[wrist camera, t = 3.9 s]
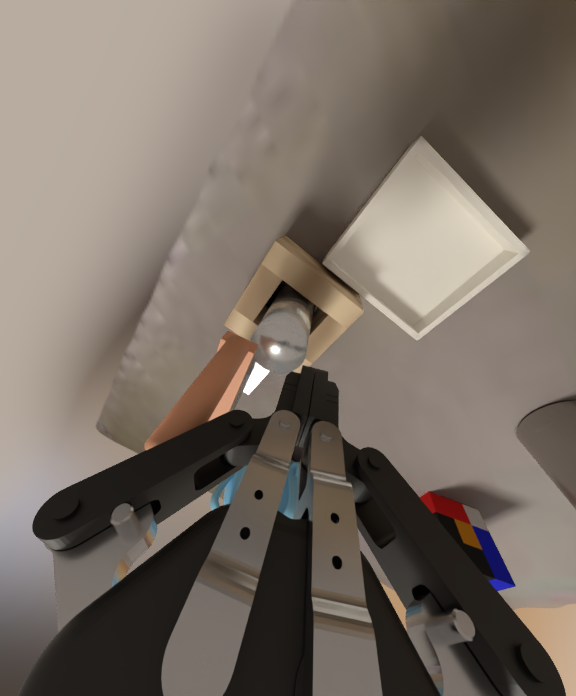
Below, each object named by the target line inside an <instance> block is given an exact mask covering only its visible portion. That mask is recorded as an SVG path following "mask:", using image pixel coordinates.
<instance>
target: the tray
mask: <svg viewBox="0 0 576 696" xmlns="http://www.w3.org/2000/svg"><path fill="white" fill-rule="evenodd" d="M530 252H531V251H530V250H529V249H528V248H527V247H526V246H525V245H524V244H523V243H522V242H521V241H520V240H519V239H518V238H517V237H516V236H515V235H514V233H513V232H512V231H511V230H510V229H509V228H508V227H507V226H506V225H505V224H504V223H503V222H502V221H501V220H500V219H499V218H498V216H497V215H496V214H495V213H494V212H493V211H492V210H491V209H490V208H489V207H488V206H487V205H486V204H485V203H484V202H483V201H482V200H481V198H480V197H479V196H478V195H477V194H476V193H475V192H474V191H473V190H472V189H471V188H470V187H469V186H468V185H467V184H466V183H465V181H464V180H463V179H462V178H461V177H460V176H459V175H458V174H457V173H456V172H455V171H454V170H453V169H452V168H451V167H450V166H449V165H448V163H447V162H446V161H445V160H444V159H443V158H442V157H441V156H440V155H439V154H438V153H437V152H436V151H435V150H434V149H433V148H432V147H431V145H430V144H429V143H428V142H427V141H426V140H425V139H424V138H423V137H422V136H420V137H419V138H418V139H416V140H415V141H414V142H413V143H412V144H411V145H410V146H409V147H408V149H407V150H406V151H405V153H404V154H403V155H402V156H401V158H400V159H399V160H398V162H397V163H396V164H395V166H394V167H393V168H392V170H391V171H390V172H389V173H388V175H387V176H386V177H385V179H384V180H383V181H382V183H381V184H380V185H379V187H378V188H377V189H376V190H375V192H374V193H373V194H372V196H371V197H370V198H369V200H368V201H367V202H366V203H365V205H364V206H363V207H362V209H361V210H360V211H359V213H358V214H357V215H356V217H355V218H354V219H353V220H352V222H351V223H350V224H349V226H348V227H347V228H346V230H345V231H344V232H343V233H342V235H341V236H340V237H339V239H338V240H337V241H336V243H335V244H334V245H333V247H332V248H331V249H330V250H329V252H328V253H327V254H326V256H325V257H324V258H323V262H322V264H323V265H325V266H326V267H327V268H328V269H329V270H331V271H332V272H333V273H334V274H336V275H337V276H338V277H339V278H341V279H342V280H343V281H344V282H345V283H347V284H348V285H349V286H350V287H352V288H353V289H354V290H355V291H357V292H358V293H359V294H360V295H361V296H363V297H364V298H365V299H366V300H368V301H369V302H370V303H371V304H373V305H374V306H375V307H376V308H377V309H379V310H380V311H381V312H382V313H384V314H385V315H386V316H387V317H388V318H390V319H391V320H392V321H393V322H395V323H396V324H397V325H398V326H400V327H401V328H402V329H403V330H404V331H406V332H407V333H408V334H409V335H411V336H412V337H413V338H414V339H416V340H419V339H420V338H421V337H423V336H424V335H425V334H426V333H428V332H429V331H430V330H431V329H433V328H434V327H435V326H437V325H438V324H439V323H440V322H442V321H443V320H444V319H446V318H447V317H448V316H449V315H451V314H452V313H453V312H454V311H456V310H457V309H458V308H460V307H461V306H462V305H463V304H465V303H466V302H467V301H468V300H470V299H471V298H472V297H474V296H475V295H476V294H477V293H479V292H480V291H481V290H483V289H484V288H485V287H486V286H488V285H489V284H490V283H491V282H493V281H494V280H495V279H497V278H498V277H499V276H500V275H502V274H503V273H504V272H506V271H507V270H508V269H509V268H511V267H512V266H513V265H514V264H516V263H517V262H518V261H520V260H521V259H522V258H523V257H525V256H526V255H527V254H529V253H530Z"/></svg>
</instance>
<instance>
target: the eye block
mask: <svg viewBox="0 0 576 696" xmlns="http://www.w3.org/2000/svg"><path fill="white" fill-rule="evenodd" d="M282 280H283V281H285V282H286V283H287V284H289V285H290V286H291V287H293V288H294V289H295V290H296V291H298V292H299V293H300V294H302V295H303V296H304V297H306V298H307V299H308V300H310V301H311V302H312V303H313V304H315V305H316V306H317V307H319V308H320V309H319V310H318V311H317V312H316V313H315V314H314V316H313V317H312V322H311V328H310V334H309V340H308V346H307V352H306V357H305V360H304V362H303V363H302V364H301V366H300V367H298V368H297V369H296V370H294V371H293V372H297V373H301V369H302V366H303V365H305V366H308V367H309V366H310V365H311V364H312V363H313V362H314V361H315V360H316V359H317V358H318V357H319V356H320V355H321V354H322V353H323V352H324V351H325V350H326V349H327V348H328V347H329V346H330V345H331V344H332V343H333V342H334V341H335V340H336V339H337V338H338V337H339V336H340V335H341V334H342V333H343V332H344V331H345V330H346V329H347V328H348V327H349V326H350V325H351V324H352V323H353V322H354V321H355V320H356V319H357V318H358V317H359V316H360V315H361V314H363V313H364V309H363V306H362V303H361V300H360V297H359V294H357V293H356V292H355V291H354V290H352V289H351V288H350V287H349V286H347V285H346V284H345V283H344V282H343V281H341V280H340V279H339V278H338V277H336V276H335V275H334V274H333V273H331V272H330V271H329V270H328V269H327V268H325V267H324V266H323V265H322V264H320V263H319V262H318V261H317V260H315V259H314V258H313V257H312V256H310V255H309V254H308V253H307V252H306V251H304V250H303V249H302V248H301V247H299V246H298V245H297V244H296V243H294V242H293V241H292V240H291V239H290V238H288V237H287V236H286V235H285V236H283V237H281V238H279V239H278V240H276V241H275V242H274V244H273V246H272V247H271V249H270V250H269V252H268V254H267V255H266V257H265V259H264V260H263V262H262V263H261V265H260V267H259V268H258V270H257V272H256V273H255V275H254V276H253V278H252V280H251V281H250V283H249V285H248V286H247V288H246V289H245V291H244V293H243V294H242V296H241V298H240V299H239V301H238V302H237V304H236V306H235V307H234V309H233V311H232V312H231V314H230V315H229V317H228V319H227V320H226V322H225V324H224V325H225V326H226V327H228V328H229V329H231V330H232V331H234V332H235V333H237V334H238V335H239V336H241V337H243V338H245V339H247V340H249V341H250V340H251V337H252V335H253V333H254V332H255V330H256V329H257V327H258V325H259V324H260V322H261V321H262V319H263V317H264V316H265V314H266V313H267V311H268V309H269V308H268V307H267V306H265V304H266V302H267V301H268V300H269V298H270V297H271V295H272V294H273V292H274V291H275V290H276V288H277V287H278V285H279V284H280V282H281V281H282Z"/></svg>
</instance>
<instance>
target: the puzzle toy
mask: <svg viewBox="0 0 576 696" xmlns="http://www.w3.org/2000/svg"><path fill="white" fill-rule="evenodd" d="M420 499H421V500H422V501H423V503H424V504H425V505H426V506H427V507H428V509H429V510H430V511H431V512H432V513H433V515H434V516H435V517H436V518H437V519H438V521H439V522H440V523H441V524H442V525H443V527H444V528H445V529H446V530H447V532H448V533H449V534H450V535H451V536H452V538H453V539H454V540H455V541H456V542H457V544H458V545H459V546H460V547H461V548H462V550H463V551H464V552H465V553H466V554H467V556H468V557H469V558H470V559H471V560H472V562H473V563H474V564H475V565H476V567H477V568H478V569H479V570H480V571H481V573H482V574H483V575H484V576H485V577H486V579H487V580H488V581H489V582H490V583H491V585H492V586H493V587H494V588H495V589H496V591H499V590H503V589H507V588H511V587H515V584H514V582H513V580H512V578H511V575H510V573H509V571H508V569H507V567H506V565H505V563H504V561H503V559H502V557H501V555H500V553H499V551H498V549H497V547H496V545H495V543H494V541H493V539H492V537H491V535H490V533H489V531H488V529H487V527H486V525H485V523H484V521H483V519H482V516H481V514H480V512H479V510H477V509H474V508H471V507H469V506H466V505H463V504H461V503H458V502H455V501H453V500H450V499H447V498H445V497H442V496H439V495H437V494H434V493H431V492H427V493H426V494H424V495H423V496H422V497H420Z"/></svg>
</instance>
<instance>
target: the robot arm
mask: <svg viewBox="0 0 576 696" xmlns="http://www.w3.org/2000/svg"><path fill="white" fill-rule="evenodd" d="M338 397H339V390H338V388H337V386H336V384H335V383H334V382H330V381H328V372H327V371H324V370H320V369H315V368H312V367H308V366H305V365H303V366H302V369H301V373H297V372H293V371H291V372H290V373H289V374H288V375H287V376H286V379H285V382H284V385H283V388H282V391H281V395H280V398H279V401H278V404H277V407H276V410H275V412H274V413H273V414H272V415H271V416H269V417H266V418H261V419H252V417H251V416H250V415H249V414H248V413H247V412H245V411H242V410H232V411H229V412H227V413H225V414H223V415H221V416H219V417H216V418H214V419H212V420H210V421H208V422H206V423H204V424H201V425H199V426H197V427H195V428H193V429H191V430H189V431H187V432H184V433H182V434H180V435H178V436H176V437H174V438H172V439H169V440H167V441H165V442H163V443H161V444H159V445H157V446H155V447H152V448H150V449H148V450H146V451H144V452H142V453H140V454H138V455H135V456H133V457H131V458H129V459H127V460H125V461H123V462H120V463H119V464H116V465H114V466H112V467H110V468H108V469H106V470H103V471H102V472H99V473H97V474H95V475H93V476H91V477H88V478H87V479H84V480H82V481H80V482H78V483H76V484H74V485H71V486H69V487H67V488H65V489H63V490H61V491H59V492H58V493H56V494H55V495H53V496H52V497H51V498H50V499H49V500H48V501H46V502H45V503H44V504H43V506H42V507H41V508H40V509H39V511H38V512H37V514H36V516H35V518H34V521H33V532H34V534H35V535H36V537H38V538H39V539H40V540H41V541H42V542H43V543H44V544H45V546H46V548H47V549H49V550H50V551H51V552H52V553H53V558H54V574H55V590H56V606H57V622H58V634H57V635H56V636H55V637H54V638H53V640H52V641H51V642H50V643H49V645H48V646H47V647H46V649H45V650H44V651H43V653H42V654H41V655H40V657H39V658H38V660H37V661H36V663H35V664H34V666H33V667H32V669H31V671H30V672H29V674H28V676H27V678H26V680H25V681H24V683H23V685H22V687H21V689H20V691H19V693H18V695H17V696H566V693H565V689H564V685H563V683H562V680H561V677H560V675H559V673H558V670H557V669H556V667H555V665H554V663H553V661H552V660H551V658H550V656H549V655H548V653H547V652H546V650H545V649H544V648H543V646H542V645H541V644H540V643H539V641H538V640H537V639H536V638H535V637H534V635H533V634H532V633H531V632H530V631H529V629H528V628H527V627H526V626H525V625H524V623H523V622H522V621H521V620H520V618H518V616H517V615H516V614H515V612H514V611H513V610H512V609H511V608H510V606H509V605H508V604H507V603H506V602H505V600H504V599H503V598H502V597H501V595H500V594H499V593H498V592H497V591H496V589H495V588H494V587H493V586H492V585H491V583H490V582H489V581H488V580H487V579H486V577H485V576H484V575H483V574H482V573H481V571H480V570H479V569H478V568H477V567H476V565H475V564H474V563H473V562H472V560H471V559H470V558H469V557H468V556H467V554H466V553H465V552H464V551H463V550H462V548H461V547H460V546H459V545H458V544H457V542H456V541H455V540H454V539H453V538H452V536H451V535H450V534H449V533H448V532H447V530H446V529H445V528H444V527H443V525H442V524H441V523H440V522H439V521H438V519H437V518H436V517H435V516H434V515H433V513H432V512H431V511H430V510H429V509H428V507H427V506H426V505H425V504H424V503H423V501H422V500H421V499H420V498H419V497H418V495H417V494H416V493H415V492H414V490H413V489H412V488H411V487H410V486H409V484H408V483H407V482H406V481H405V480H404V478H403V477H402V476H401V475H400V474H399V472H398V471H397V470H396V469H395V468H394V466H393V465H392V464H391V463H390V461H389V460H388V459H387V458H386V457H385V456H384V455H383V454H382V453H381V452H380V451H378V450H376V449H374V448H370V447H366V448H363V449H361V450H359V449H358V448H356V447H354V446H353V445H351V444H350V443H348V442H347V441H346V440H345V439H344V438H343V437H342V435H341V432H340V430H339V428H338V403H339V399H338ZM517 437H518V439H519V440H520V442H521V443H522V444H523V445H524V447H525V448H526V449H527V450H528V451H529V453H530V454H531V455H532V456H533V458H534V459H535V460H536V461H537V462H538V464H539V465H540V466H541V468H542V469H543V470H544V471H545V472H546V474H547V475H548V476H549V477H550V479H551V480H552V481H553V482H554V483H555V485H556V486H557V487H558V488H559V489H560V491H561V492H562V493H563V494H564V496H565V497H566V498H567V499H568V500H569V502H570V503H571V504H572V505H573V507H574V508H575V509H576V401H566V402H560V403H556V404H552V405H548V406H546V407H543V408H541V409H538V410H537V411H535V412H533V413H531V414H530V415H528V416H527V417H526V418H525V419H524V420H523V421H522V422H521V423H520V425H519V426H518V428H517ZM298 442H299V445H298ZM297 445H298V447H301V448H303V451H302V456H301V459H300V462H299V472H298V485H297V497H296V506H295V511H294V516H293V519H291V518H289V517H287V516H286V515H284V514H283V513H281V512H280V511H278V507H279V503H280V500H281V496H282V492H283V489H284V485H285V482H286V478H287V474H288V471H289V465H290V462H291V458H292V454H293V451H294V448H295V446H297ZM247 465H248V467H247V469H246V471H245V473H244V476H243V478H242V480H241V482H240V485H239V487H238V489H237V492H236V494H235V496H234V498H233V501H232V503H231V504H226V505H223V506H220V507H218V508H216V509H214V510H212V511H210V512H209V513H207V514H206V515H204V516H203V517H202V518H201V519H199V520H198V521H197V522H195V523H194V524H193V525H192V526H190V527H189V528H188V529H186V530H185V531H184V532H182V533H181V534H180V535H179V536H177V537H176V538H175V539H173V540H172V541H171V542H170V543H168V544H167V545H166V546H164V547H163V548H162V549H161V550H159V551H158V552H157V553H155V554H154V555H153V556H152V557H150V558H149V559H148V560H146V561H145V562H144V563H143V564H141V565H140V566H139V567H137V568H136V569H135V570H133V571H132V572H131V573H130V574H128V575H127V576H126V574H127V572H128V570H129V569H130V567H131V566H132V565H133V563H134V562H135V561H136V560H137V559H138V558H139V557H140V556H141V555H143V554H144V553H145V552H146V551H147V550H148V549H149V547H150V546H151V544H152V543H153V541H154V539H155V536H156V532H157V524H159V523H160V522H162V521H163V520H165V519H166V518H168V517H170V516H171V515H172V514H174V513H176V512H177V511H179V510H180V509H181V508H183V507H185V506H186V505H188V504H189V503H190V502H192V501H193V500H195V499H196V498H198V497H200V496H201V495H203V494H204V493H206V492H207V491H209V490H210V489H212V488H213V487H215V486H216V485H218V484H219V483H221V482H222V481H224V480H225V479H227V478H228V477H230V476H231V475H233V474H234V473H236V472H237V471H239V470H240V469H242V468H243V467H244V466H247ZM357 527H358V528H357ZM358 529H359V531H360V532H361V534H362V536H363V537H364V539H365V541H366V542H367V544H368V546H369V548H370V549H371V551H372V553H373V554H374V556H375V558H376V559H377V561H378V563H379V564H380V566H381V568H382V569H383V571H384V573H385V575H386V576H387V578H388V580H389V581H390V583H391V585H392V586H393V588H394V590H395V591H396V593H397V595H398V596H399V598H400V600H401V601H402V603H403V605H404V607H405V608H406V610H407V611H406V626H407V632H406V630H405V628H404V626H403V624H402V622H401V621H400V619H399V617H398V615H397V613H396V611H395V609H394V608H393V606H392V604H391V602H390V600H389V598H388V596H387V595H386V593H385V591H384V589H383V587H382V586H381V583H380V581H379V580H378V578H377V576H376V574H375V572H374V570H373V568H372V567H371V565H370V563H369V562H368V560H367V559H366V557H365V556H364V554H363V553H362V552H361V551H360V546H359V537H358ZM125 576H126V577H125Z"/></svg>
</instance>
